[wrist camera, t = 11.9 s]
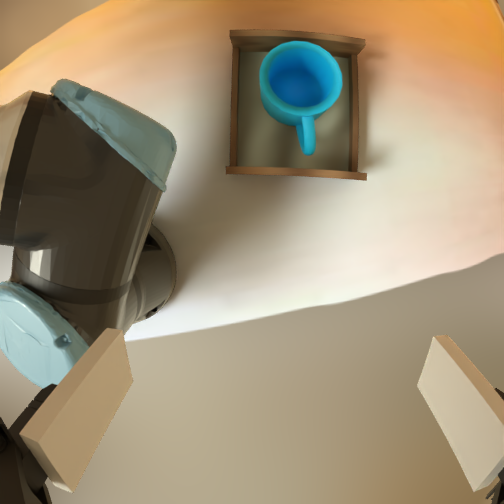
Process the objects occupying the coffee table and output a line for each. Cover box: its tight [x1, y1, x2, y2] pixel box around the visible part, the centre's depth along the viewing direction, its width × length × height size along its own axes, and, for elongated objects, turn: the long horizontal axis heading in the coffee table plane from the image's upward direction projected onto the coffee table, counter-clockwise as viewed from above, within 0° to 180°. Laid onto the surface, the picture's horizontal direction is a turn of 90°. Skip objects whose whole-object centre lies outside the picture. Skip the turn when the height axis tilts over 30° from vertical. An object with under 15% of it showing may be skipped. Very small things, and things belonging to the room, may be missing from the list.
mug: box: [259, 41, 342, 156], centre depth 31 cm, size 12×8×8 cm
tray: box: [226, 30, 367, 181], centre depth 32 cm, size 15×17×6 cm
